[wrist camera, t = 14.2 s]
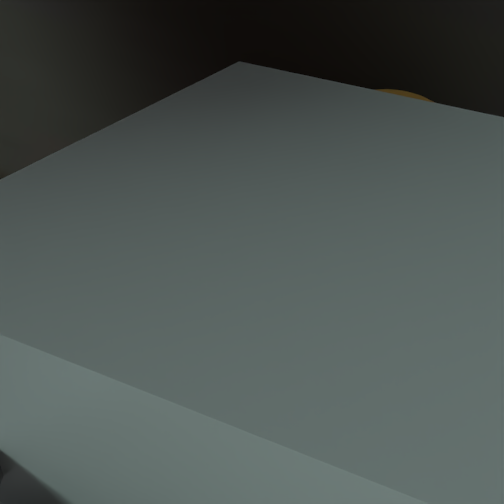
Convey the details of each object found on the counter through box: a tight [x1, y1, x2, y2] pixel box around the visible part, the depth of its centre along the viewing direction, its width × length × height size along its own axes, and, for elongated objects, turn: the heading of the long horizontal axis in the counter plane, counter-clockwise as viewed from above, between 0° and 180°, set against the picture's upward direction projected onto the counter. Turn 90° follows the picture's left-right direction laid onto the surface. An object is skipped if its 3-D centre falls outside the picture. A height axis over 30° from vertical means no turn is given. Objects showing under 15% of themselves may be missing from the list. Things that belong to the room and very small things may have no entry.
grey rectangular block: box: [0, 61, 504, 504], centre depth 8 cm, size 7×7×9 cm
